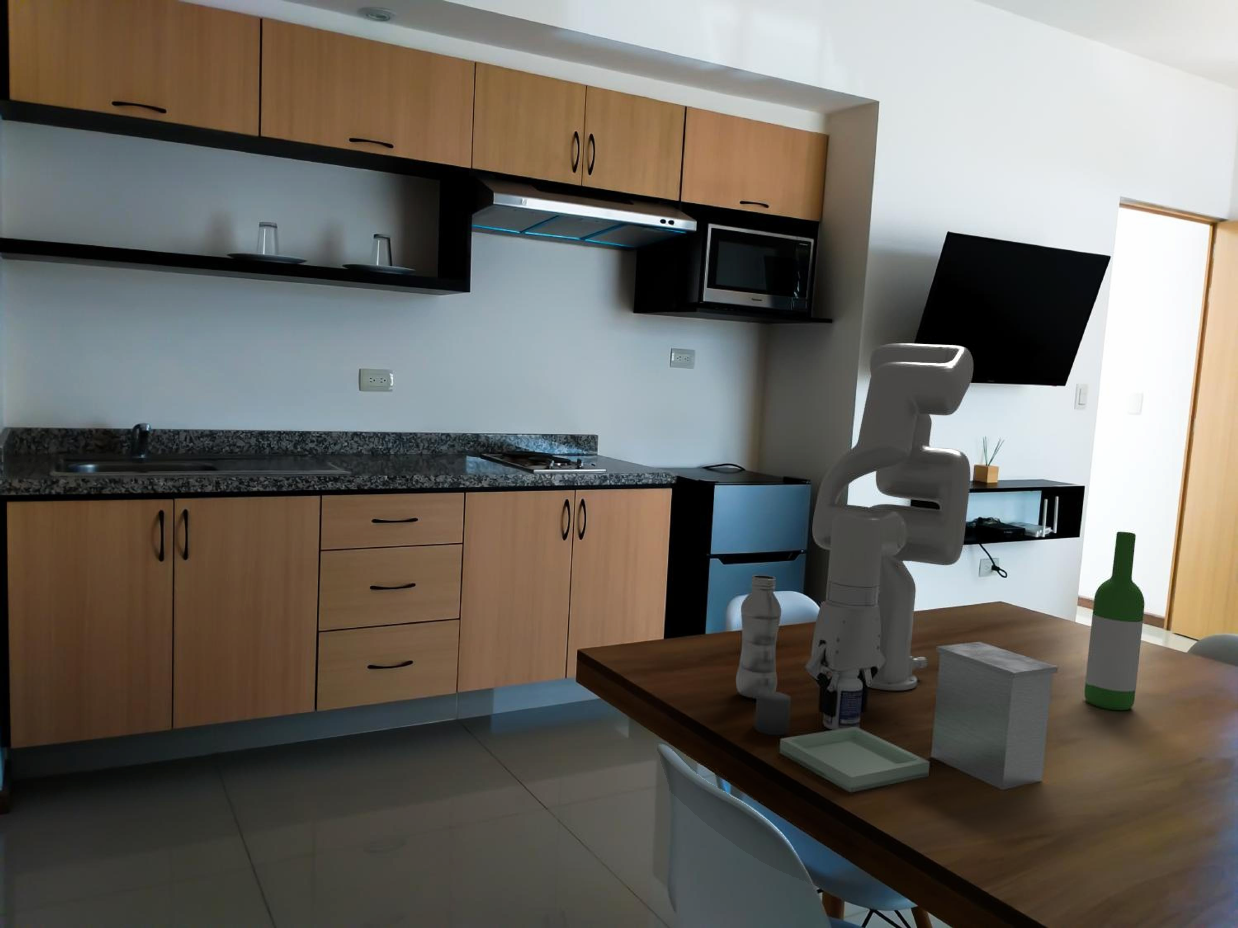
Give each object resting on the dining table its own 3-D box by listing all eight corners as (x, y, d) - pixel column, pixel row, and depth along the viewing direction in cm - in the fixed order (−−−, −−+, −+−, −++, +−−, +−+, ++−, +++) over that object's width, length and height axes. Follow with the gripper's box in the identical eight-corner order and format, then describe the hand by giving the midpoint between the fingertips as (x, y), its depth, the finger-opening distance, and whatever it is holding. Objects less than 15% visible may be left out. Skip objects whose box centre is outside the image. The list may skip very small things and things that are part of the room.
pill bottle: (864, 726, 147) (869, 663, 146) (852, 735, 142) (858, 671, 141) (830, 718, 150) (835, 656, 149) (817, 727, 145) (822, 663, 144)
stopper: (774, 721, 146) (776, 689, 146) (795, 732, 142) (798, 699, 142) (747, 725, 144) (750, 693, 143) (768, 737, 140) (771, 703, 139)
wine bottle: (1114, 714, 161) (1133, 536, 158) (1073, 699, 167) (1090, 529, 165) (1143, 709, 164) (1162, 536, 162) (1102, 695, 171) (1119, 528, 169)
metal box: (969, 747, 140) (979, 641, 139) (1046, 781, 129) (1058, 666, 128) (926, 755, 136) (936, 646, 135) (1002, 791, 125) (1014, 672, 124)
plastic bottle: (775, 705, 154) (784, 582, 152) (732, 700, 155) (741, 578, 154) (776, 693, 160) (785, 575, 159) (736, 688, 161) (744, 571, 160)
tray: (854, 739, 141) (855, 726, 140) (928, 776, 128) (929, 761, 128) (779, 752, 134) (780, 738, 133) (850, 792, 121) (851, 776, 121)
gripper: (875, 586, 152) (866, 698, 153) (791, 591, 143) (782, 710, 145) (911, 596, 145) (901, 713, 147) (825, 603, 137) (815, 726, 138)
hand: (842, 710), depth 146 cm, fingers closed on pill bottle, 5 cm apart
